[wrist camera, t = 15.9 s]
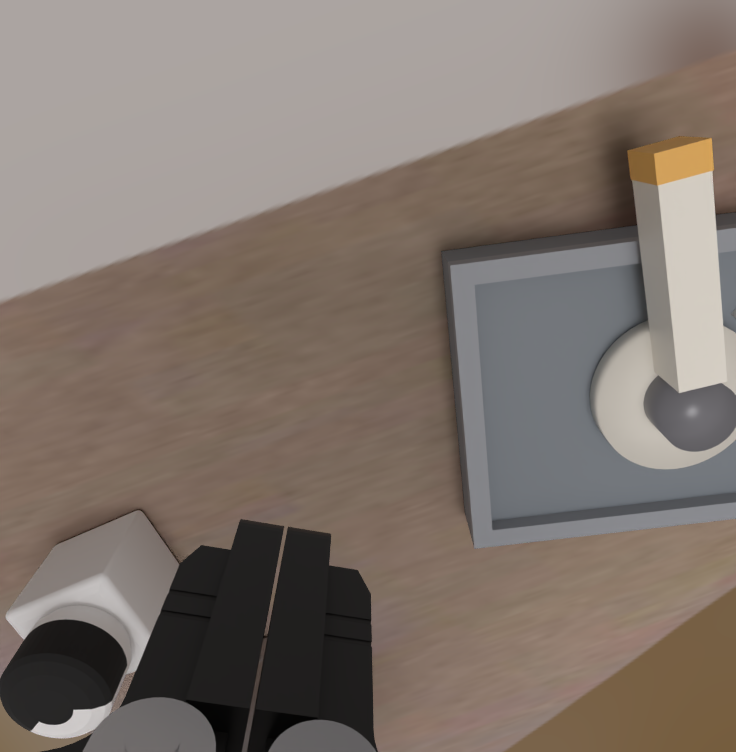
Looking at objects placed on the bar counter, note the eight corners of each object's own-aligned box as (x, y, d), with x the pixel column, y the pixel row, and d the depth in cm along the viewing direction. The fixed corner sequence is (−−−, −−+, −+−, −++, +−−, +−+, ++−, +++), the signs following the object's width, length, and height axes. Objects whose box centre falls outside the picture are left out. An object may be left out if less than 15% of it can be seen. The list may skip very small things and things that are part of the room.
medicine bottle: (53, 544, 45) (-48, 683, 34) (141, 506, 44) (67, 637, 33) (110, 617, 48) (33, 771, 36) (195, 583, 46) (143, 730, 35)
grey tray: (822, 470, 44) (866, 503, 40) (465, 512, 44) (474, 548, 41) (862, 195, 37) (918, 203, 33) (441, 251, 38) (450, 265, 34)
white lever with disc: (750, 436, 39) (798, 475, 35) (600, 472, 40) (629, 514, 36) (731, 117, 32) (787, 116, 28) (552, 166, 33) (580, 173, 29)
